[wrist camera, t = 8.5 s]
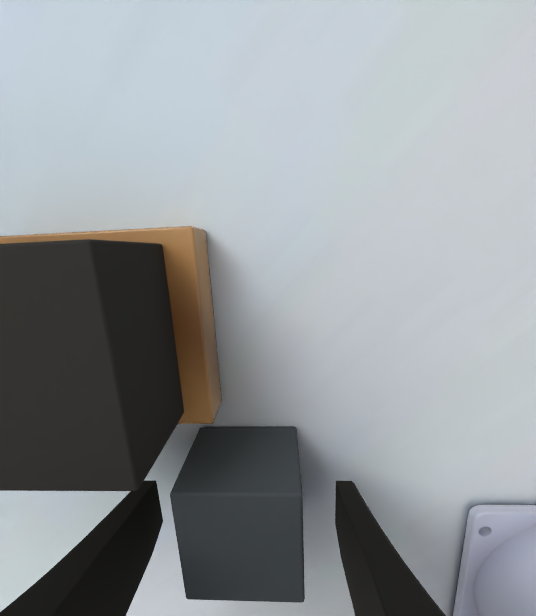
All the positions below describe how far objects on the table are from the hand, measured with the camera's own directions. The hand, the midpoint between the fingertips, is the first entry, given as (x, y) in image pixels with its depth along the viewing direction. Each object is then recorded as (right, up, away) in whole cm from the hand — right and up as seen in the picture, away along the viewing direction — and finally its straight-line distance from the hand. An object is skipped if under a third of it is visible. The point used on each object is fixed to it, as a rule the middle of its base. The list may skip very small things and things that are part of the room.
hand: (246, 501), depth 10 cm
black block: (-5, +7, -1) cm, 8 cm away
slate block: (0, 0, +1) cm, 2 cm away
